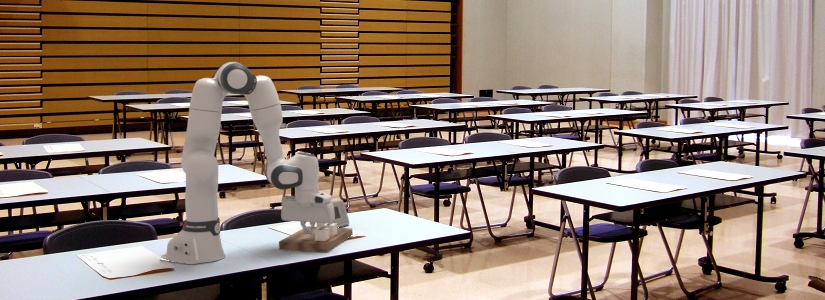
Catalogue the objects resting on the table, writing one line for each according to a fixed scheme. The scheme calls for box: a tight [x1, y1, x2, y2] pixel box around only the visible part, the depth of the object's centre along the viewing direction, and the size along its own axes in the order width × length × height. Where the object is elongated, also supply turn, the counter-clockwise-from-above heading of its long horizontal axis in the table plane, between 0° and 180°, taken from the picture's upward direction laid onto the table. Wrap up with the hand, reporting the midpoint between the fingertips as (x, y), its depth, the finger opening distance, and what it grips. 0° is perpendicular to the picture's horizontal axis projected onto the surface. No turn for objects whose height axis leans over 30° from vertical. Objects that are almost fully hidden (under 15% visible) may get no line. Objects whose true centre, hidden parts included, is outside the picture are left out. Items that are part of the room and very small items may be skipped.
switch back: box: [315, 222, 326, 228], centre depth 327 cm, size 4×4×5 cm
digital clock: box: [330, 199, 350, 228], centre depth 344 cm, size 16×9×11 cm, turn 131°
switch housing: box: [278, 225, 354, 253], centre depth 319 cm, size 19×26×3 cm
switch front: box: [315, 226, 329, 241], centre depth 310 cm, size 4×4×5 cm
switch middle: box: [323, 222, 337, 236], centre depth 317 cm, size 4×4×5 cm
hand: (308, 233), depth 311 cm, fingers closed
